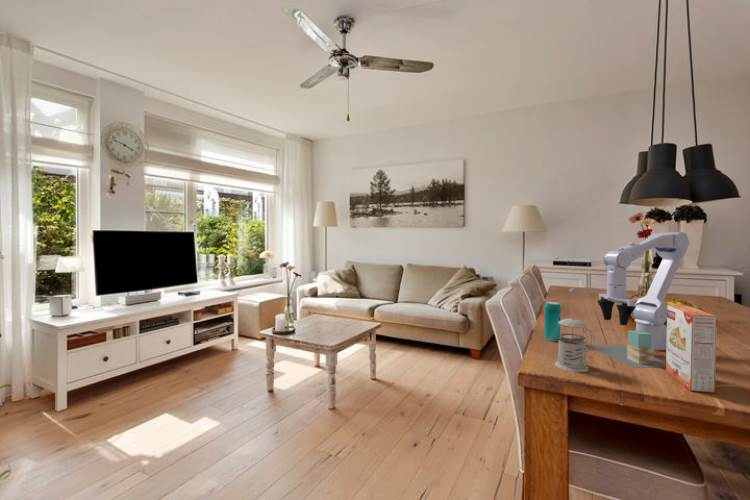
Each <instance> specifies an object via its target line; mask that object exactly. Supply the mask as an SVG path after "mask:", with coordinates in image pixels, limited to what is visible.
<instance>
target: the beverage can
mask: <svg viewBox="0 0 750 500" xmlns="http://www.w3.org/2000/svg"><path fill="white" fill-rule="evenodd" d="M560 304H561V303H560V302H558V301H545V305H544V311H543V313H544V314H543V315H544V317H543V318H544V319H543V336H544V339H545V340H546V341H549V342H559V338H561V337H560V334H561V325H559V323H558V322H559V321H561V310H562V307H561V306H560Z"/></svg>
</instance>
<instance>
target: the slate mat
mask: <svg viewBox="0 0 750 500" xmlns="http://www.w3.org/2000/svg"><path fill="white" fill-rule="evenodd" d="M588 346H589V345H586V348H587V347H588ZM592 347H593V345H590V347H589V348H590V349H591V348H592ZM589 348H588V349H589ZM591 350H594V351H595V352H599V353H601V354H603V355H605V356H607V357H609V358H611V359H614V360H616V361H617V362H620V363H622V364H623V365H624V364H625V365H627V366H629V367H631V368H633V369H651V368H652V369H653V368H656V369H657V368H666V361H663V360H660V359H658V358H656V357H654V361H653V363H645V364H638V363H636V362H634V361H632V360H629V359H627V345H626V346H625V345H623V344H604V345H601V344H600V345H599V344H598V345H596V344H594V347H593V348H592V349H591Z"/></svg>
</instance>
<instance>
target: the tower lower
mask: <svg viewBox="0 0 750 500" xmlns="http://www.w3.org/2000/svg"><path fill="white" fill-rule="evenodd" d="M654 358H655V357H654V356H638V355H635V354H633V353H631V352H628V351H627V359H629V360H632V361H634V362H636V363H638V364H645V363H653V361H654Z"/></svg>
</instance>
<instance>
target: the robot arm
mask: <svg viewBox="0 0 750 500" xmlns="http://www.w3.org/2000/svg"><path fill="white" fill-rule="evenodd" d="M689 245H690V240H689V236H688V234H687V233H686V232H683V231H679V232H676V231H674V232H671V231H669V232H667V231H666V232H665V231H663V232H661V231H657V232H654V233H651V234H650V236H649V237H647V238H646V239H643V240H642V241H641V242H627V244H626V245H625V246H622V247H618V248H617V249H616V250H609V251H607V252H606V253H605V255H604V258H603V259H602V260H603V264H604V265H605V271H606V293H598V299H599V300H597V304H598V306H599V307H600V308H601V312H602V316H603V320H604V321H611V319H612V315H613V308H614V305H615V303H618V304H616V307H617V308H616V309H617V311H618V314H619V315H618V316H619V317H618V319H619V325H620V326H627V325H628V323H629V320H630V317H632V319H634V320H633V321H634V322H635V325H636V326H635V330H642V331H645V332H648V333H651V334H652V340H651V347H653V348H654V351H666V343H667V325H666V324H665V323H666V322H667V305H668V304H666V303H665V299H666V296H667V294H668V292H669V289H670V287H671V286H672V283H673V281H674V278H675V276H676V274H677V271H678V269H679V267H680V266H681V263H682V260H683V258H684V257H685V254H686V252H687V250H688V248H689ZM653 249H654V250H655V253H657V255H658V256H659V257H661V258H662V260H661V262H660V264H659V266H658V268H657V270H656V273H655V275H654V277H653V280H652V282H651V284H650V286H649V287H648V288H649V289H648V290H647V293H646V295H644V296H642V297H639V298H638V299H637V300H634V299H631V298H628V297H626V296H627V295H626V294H627V268H629V267H630V266H631V264H632V262H634V261H636V260H638V259H639V258H641V257H643V256H644V254H645V252H647V251H650V250H653Z"/></svg>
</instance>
